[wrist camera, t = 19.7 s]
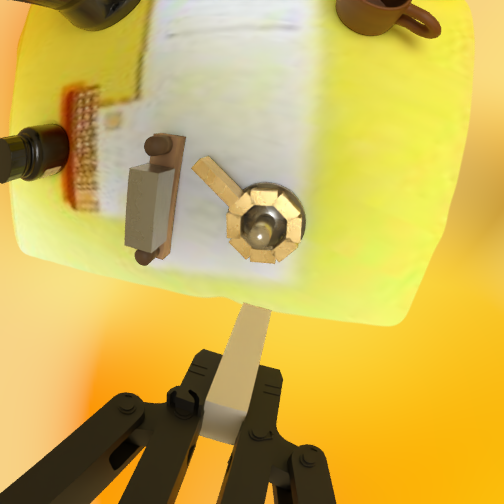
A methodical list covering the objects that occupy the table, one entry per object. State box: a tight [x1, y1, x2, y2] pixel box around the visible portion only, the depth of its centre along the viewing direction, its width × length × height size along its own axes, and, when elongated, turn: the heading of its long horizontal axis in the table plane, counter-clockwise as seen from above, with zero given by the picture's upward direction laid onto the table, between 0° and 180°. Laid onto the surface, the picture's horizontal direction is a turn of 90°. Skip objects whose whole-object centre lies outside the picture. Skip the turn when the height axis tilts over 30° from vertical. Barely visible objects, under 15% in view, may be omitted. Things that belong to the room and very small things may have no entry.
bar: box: [125, 163, 175, 253], centre depth 36 cm, size 10×4×4 cm, turn 168°
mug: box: [336, 0, 441, 39], centre depth 21 cm, size 12×8×9 cm, turn 59°
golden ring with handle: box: [191, 156, 302, 264], centre depth 36 cm, size 9×16×3 cm, turn 45°
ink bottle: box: [0, 124, 68, 184], centre depth 35 cm, size 10×9×12 cm
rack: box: [135, 133, 186, 266], centre depth 37 cm, size 4×17×6 cm, turn 168°
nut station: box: [228, 182, 306, 249], centre depth 36 cm, size 10×10×7 cm
